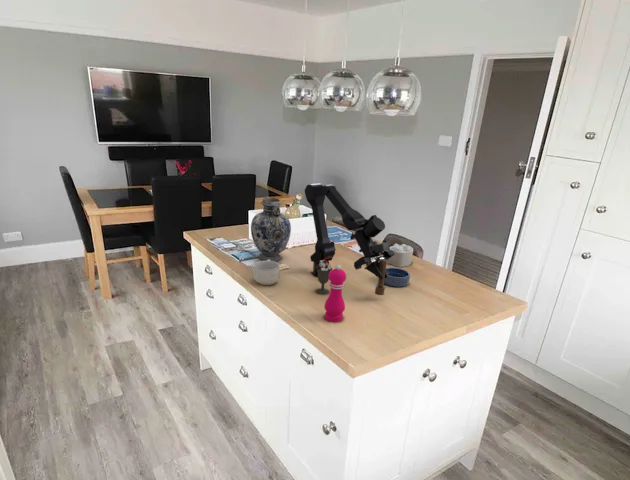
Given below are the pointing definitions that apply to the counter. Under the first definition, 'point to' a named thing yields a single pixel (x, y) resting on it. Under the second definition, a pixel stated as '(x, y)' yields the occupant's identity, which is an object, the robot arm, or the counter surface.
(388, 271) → the bowl
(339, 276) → the pepper mill
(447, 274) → the counter surface
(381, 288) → the stirring stick
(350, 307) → the counter surface
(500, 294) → the counter surface
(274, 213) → the decorative vase
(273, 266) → the teacup
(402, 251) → the lumpy-topped squat cylinder
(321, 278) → the sundae
